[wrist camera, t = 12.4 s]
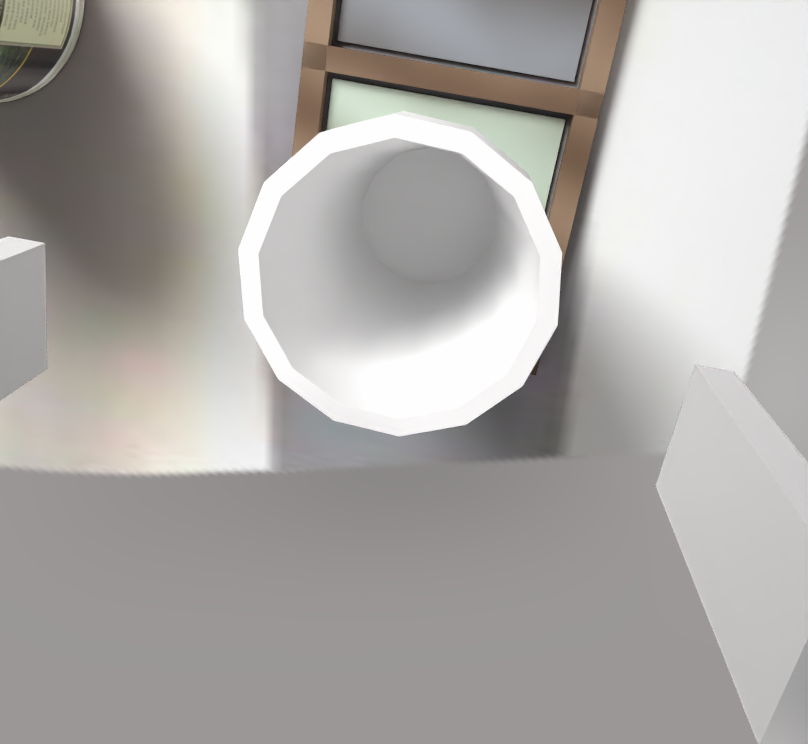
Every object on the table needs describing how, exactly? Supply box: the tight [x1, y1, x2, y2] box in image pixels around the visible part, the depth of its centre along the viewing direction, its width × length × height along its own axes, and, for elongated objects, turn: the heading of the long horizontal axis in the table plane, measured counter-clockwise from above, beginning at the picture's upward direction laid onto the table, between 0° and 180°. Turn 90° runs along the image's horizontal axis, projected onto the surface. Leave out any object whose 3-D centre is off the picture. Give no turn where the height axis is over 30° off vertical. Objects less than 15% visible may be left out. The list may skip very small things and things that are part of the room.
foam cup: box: [238, 111, 562, 436], centre depth 28 cm, size 10×9×13 cm
